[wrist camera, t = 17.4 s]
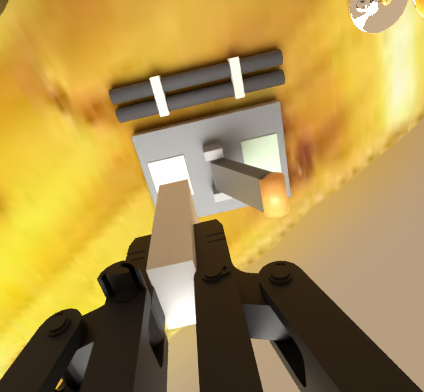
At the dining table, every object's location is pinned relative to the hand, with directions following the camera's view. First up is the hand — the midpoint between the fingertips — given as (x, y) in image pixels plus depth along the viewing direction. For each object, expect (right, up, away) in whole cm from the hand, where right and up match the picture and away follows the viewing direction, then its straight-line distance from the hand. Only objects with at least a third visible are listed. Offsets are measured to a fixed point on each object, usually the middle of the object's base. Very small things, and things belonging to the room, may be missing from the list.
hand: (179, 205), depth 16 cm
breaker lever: (+2, +4, +25) cm, 25 cm away
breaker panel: (+2, +5, +28) cm, 29 cm away
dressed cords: (0, +15, +24) cm, 28 cm away
